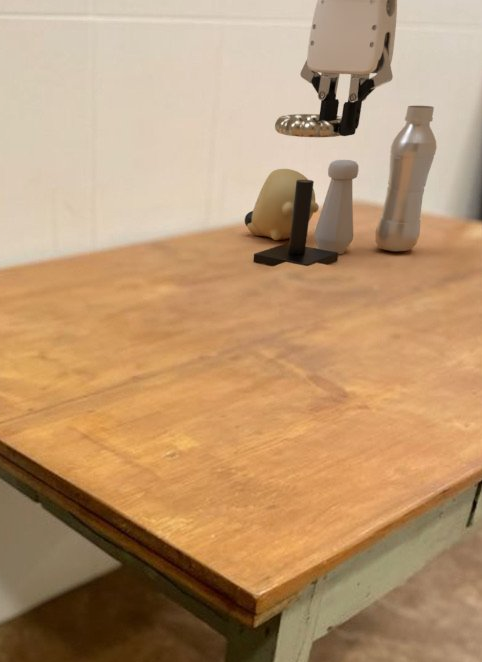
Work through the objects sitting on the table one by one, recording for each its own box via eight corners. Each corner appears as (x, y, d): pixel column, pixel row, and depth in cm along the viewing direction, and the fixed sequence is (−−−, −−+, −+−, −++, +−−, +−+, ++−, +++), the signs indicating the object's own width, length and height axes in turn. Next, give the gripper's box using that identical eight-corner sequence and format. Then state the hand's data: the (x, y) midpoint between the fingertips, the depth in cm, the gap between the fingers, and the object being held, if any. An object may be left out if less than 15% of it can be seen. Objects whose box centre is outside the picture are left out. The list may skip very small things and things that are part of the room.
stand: (337, 260, 121) (349, 180, 115) (306, 272, 115) (317, 189, 110) (285, 250, 126) (294, 173, 120) (253, 262, 121) (260, 181, 115)
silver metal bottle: (365, 251, 126) (389, 107, 115) (383, 243, 130) (408, 103, 120) (405, 258, 122) (433, 109, 112) (423, 249, 127) (452, 106, 116)
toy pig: (296, 256, 137) (274, 204, 140) (337, 209, 127) (312, 153, 129) (248, 261, 133) (226, 207, 136) (285, 213, 123) (261, 155, 125)
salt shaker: (304, 251, 126) (316, 160, 119) (326, 245, 129) (338, 156, 122) (336, 258, 122) (350, 164, 116) (358, 251, 126) (372, 160, 119)
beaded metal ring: (362, 133, 112) (364, 117, 111) (325, 140, 105) (327, 123, 104) (299, 127, 117) (300, 111, 116) (260, 133, 111) (261, 117, 110)
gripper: (436, -33, 97) (406, 136, 107) (317, -29, 106) (299, 126, 116) (409, -35, 92) (379, 142, 102) (286, -31, 102) (270, 131, 111)
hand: (337, 132), depth 109 cm, fingers closed on beaded metal ring, 2 cm apart
